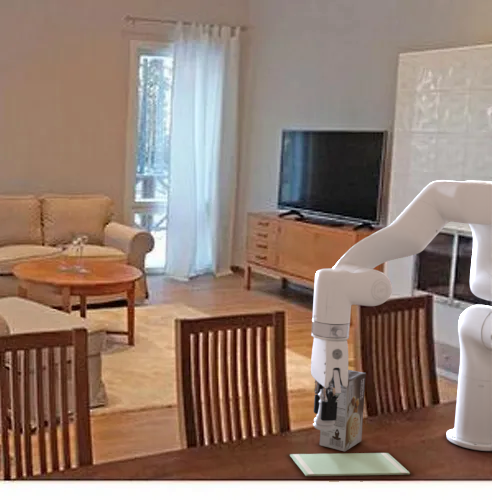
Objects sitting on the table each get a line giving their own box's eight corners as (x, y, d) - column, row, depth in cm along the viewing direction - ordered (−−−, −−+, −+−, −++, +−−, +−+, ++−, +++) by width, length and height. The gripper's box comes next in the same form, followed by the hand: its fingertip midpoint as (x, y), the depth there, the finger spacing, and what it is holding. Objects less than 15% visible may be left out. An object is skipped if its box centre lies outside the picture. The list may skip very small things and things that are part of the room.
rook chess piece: (310, 424, 176) (312, 387, 175) (330, 424, 176) (333, 387, 175) (316, 431, 171) (319, 393, 170) (337, 431, 172) (340, 393, 171)
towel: (387, 454, 183) (388, 452, 183) (409, 474, 172) (410, 472, 172) (289, 455, 180) (289, 454, 180) (305, 476, 169) (306, 474, 169)
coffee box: (335, 434, 194) (340, 367, 192) (362, 441, 191) (367, 372, 188) (318, 445, 187) (322, 375, 185) (345, 452, 183) (350, 381, 181)
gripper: (363, 339, 164) (357, 430, 166) (334, 321, 180) (328, 404, 182) (326, 339, 163) (320, 430, 165) (300, 320, 179) (295, 404, 181)
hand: (324, 415), depth 174 cm, fingers closed on rook chess piece, 3 cm apart
